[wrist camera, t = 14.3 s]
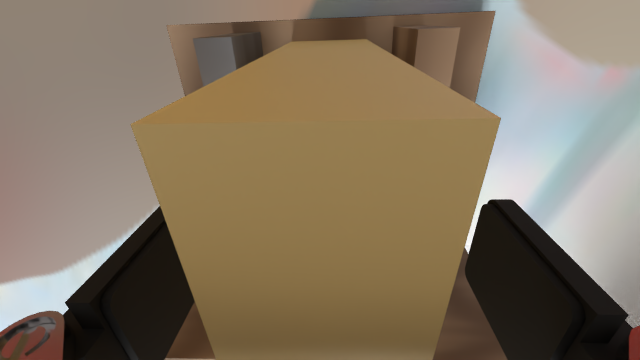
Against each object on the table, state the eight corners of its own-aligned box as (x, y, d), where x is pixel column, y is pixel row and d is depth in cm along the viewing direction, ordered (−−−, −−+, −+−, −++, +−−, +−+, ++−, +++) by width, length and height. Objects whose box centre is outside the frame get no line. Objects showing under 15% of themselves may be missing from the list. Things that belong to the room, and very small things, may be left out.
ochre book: (366, 39, 15) (501, 118, 3) (359, 197, 20) (399, 475, 8) (291, 41, 15) (130, 124, 3) (302, 198, 20) (255, 468, 8)
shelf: (481, 11, 16) (746, -3, 6) (439, 218, 22) (525, 379, 12) (179, 24, 17) (-57, 32, 7) (227, 219, 23) (146, 369, 13)
